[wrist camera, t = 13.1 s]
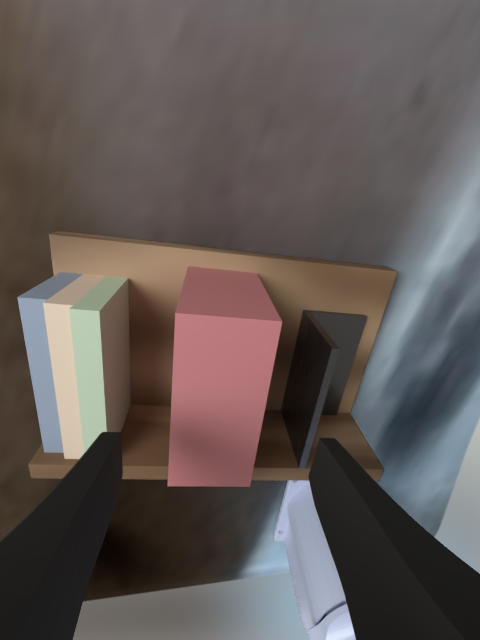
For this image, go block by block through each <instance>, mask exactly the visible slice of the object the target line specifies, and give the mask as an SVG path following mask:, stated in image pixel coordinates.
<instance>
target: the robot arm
mask: <svg viewBox="0 0 480 640" xmlns="http://www.w3.org/2000/svg"><path fill="white" fill-rule="evenodd" d="M122 476H123V465H122V440H121V432H102V433H101V434H99V436H98V437H97V438H96V440H95V441H94V442H93V443H92V445H91V446H90V447H89V448H88V449H87V451H86V452H85V453H84V454H83V456H82V457H81V458H80V459H79V460H78V461H77V463H76V464H75V465H74V466H73V467H72V468H71V470H70V471H69V472H68V473H67V474H66V475H65V476H64V477H63V478H62V480H61V481H60V482H59V483H58V484H57V485H56V486H55V487H54V488H53V489H52V491H51V492H50V493H49V494H48V495H47V496H46V497H45V498H44V499H43V500H42V501H41V502H40V503H39V504H38V505H37V506H36V507H35V508H34V509H33V510H32V511H31V512H30V513H29V514H28V515H27V516H26V517H25V518H24V519H23V520H22V521H21V522H20V523H19V524H18V525H17V526H16V527H15V528H14V529H13V530H12V531H11V532H9V533H8V534H7V535H6V536H5V537H4V538H3V539H2V540H1V541H0V640H73V636H74V632H75V628H76V624H77V621H78V617H79V613H80V610H81V606H82V602H83V599H84V596H85V593H86V590H87V586H88V583H89V580H90V578H91V575H92V572H93V569H94V566H95V563H96V560H97V558H98V555H99V552H100V549H101V546H102V543H103V540H104V538H105V535H106V532H107V529H108V526H109V523H110V520H111V517H112V515H113V512H114V509H115V505H116V501H117V497H118V493H119V489H120V485H121V481H122ZM308 478H309V481H305V480H288V482H287V486H286V489H285V493H284V497H283V501H282V504H281V508H280V512H279V516H278V520H277V523H276V527H275V531H274V535H273V536H274V540H275V541H284V543H285V548H286V553H287V558H288V562H289V567H290V572H291V576H292V582H293V586H294V591H295V596H296V601H297V605H298V610H299V614H300V617H301V620H302V622H303V624H304V626H305V628H306V630H307V632H308V635H309V639H310V640H480V574H479V573H478V572H476V571H475V570H474V569H473V568H471V567H470V566H469V565H468V564H466V563H465V562H464V561H462V560H461V559H460V558H459V557H457V556H456V555H455V554H454V553H452V552H451V551H450V550H449V549H447V548H446V547H445V546H444V545H443V544H441V543H440V542H439V541H438V540H437V539H435V538H434V537H433V536H432V535H431V534H430V533H429V532H427V531H426V530H425V529H424V528H423V527H422V526H420V525H419V524H418V523H417V522H416V521H415V520H414V519H413V518H412V517H411V516H410V515H408V514H407V513H406V512H405V511H404V510H403V509H402V508H401V507H400V506H399V505H398V504H397V503H396V502H395V501H394V500H393V499H392V498H391V497H390V496H389V495H388V494H387V493H386V492H385V491H384V490H383V489H382V488H381V487H380V486H379V485H378V484H377V483H376V482H375V481H374V480H373V479H372V478H371V477H370V475H369V474H368V473H367V472H366V471H365V470H364V469H363V468H362V467H361V466H360V465H359V464H358V462H357V461H356V460H355V459H354V458H353V457H352V456H351V455H350V454H349V453H348V452H347V450H346V449H345V448H344V447H343V446H342V445H341V444H340V443H339V442H338V441H337V440H336V439H335V438H320V439H319V442H318V445H317V449H316V452H315V456H314V459H313V462H312V466H311V469H310V472H309V476H308Z"/></svg>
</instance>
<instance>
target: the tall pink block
mask: <svg viewBox="0 0 480 640" xmlns="http://www.w3.org/2000/svg"><path fill="white" fill-rule="evenodd" d="M281 326H282V320H281V318H280V316H279V314H278V312H277V311H276V309H275V307H274V305H273V303H272V301H271V299H270V297H269V295H268V294H267V292H266V290H265V288H264V286H263V284H262V282H261V280H260V278H259V277H258V275H257V273H252V272H242V271H232V270H222V269H212V268H202V267H192V266H188V268H187V271H186V275H185V279H184V283H183V286H182V290H181V294H180V297H179V301H178V305H177V308H176V312H175V330H174V353H173V375H172V398H171V420H170V443H169V466H168V486H242V487H250V483H251V478H252V473H253V468H254V463H255V458H256V453H257V448H258V442H259V437H260V432H261V427H262V422H263V417H264V412H265V407H266V402H267V397H268V392H269V387H270V381H271V376H272V371H273V366H274V361H275V356H276V351H277V346H278V341H279V336H280V331H281Z"/></svg>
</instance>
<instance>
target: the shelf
mask: <svg viewBox="0 0 480 640" xmlns="http://www.w3.org/2000/svg"><path fill="white" fill-rule="evenodd" d="M49 239H50V247H51V256H52V264H53V272H54V276H55V275H56V274H58V273H60V272H69V273H79V274H90V275H101V276H112V277H122V278H128V289H129V338H130V387H131V406H130V408H129V411H128V414H127V417H126V419H125V422H124V425H123V428H122V431H121V440H122V465H123V476H122V479H168V466H169V443H170V420H171V398H172V375H173V353H174V330H175V312H176V308H177V305H178V301H179V297H180V294H181V290H182V286H183V283H184V279H185V275H186V271H187V268H188V266H192V267H202V268H212V269H222V270H232V271H242V272H252V273H257V275H258V277H259V278H260V280H261V282H262V284H263V286H264V288H265V290H266V292H267V294H268V295H269V297H270V299H271V301H272V303H273V305H274V307H275V309H276V311H277V312H278V314H279V316H280V318H281V320H282V326H281V331H280V336H279V341H278V346H277V351H276V356H275V361H274V366H273V371H272V376H271V381H270V387H269V392H268V397H267V402H266V407H265V412H264V417H263V422H262V427H261V432H260V437H259V442H258V448H257V453H256V458H255V463H254V468H253V473H252V478H251V480H305V481H309V478H308V476H309V472H310V469H311V466H312V462H313V459H314V456H315V452H316V449H317V445H318V442H319V439H320V438H335V439H336V440H337V441H338V442H339V443H340V444H341V445H342V446H343V447H344V448H345V449H346V450H347V452H348V453H349V454H350V455H351V456H352V457H353V458H354V459H355V460H356V461H357V462H358V464H359V465H360V466H361V467H362V468H363V469H364V470H365V471H366V472H367V473H368V474H369V475H370V477H371V478H372V479H373V480H374V481H380V479H381V476H382V474H383V472H384V468H383V466H382V465H381V463H380V462H379V460H378V458H377V457H376V455H375V453H374V452H373V450H372V449H371V447H370V445H369V444H368V442H367V440H366V439H365V437H364V435H363V434H362V432H361V431H360V429H359V427H358V426H357V424H356V422H355V421H354V419H353V417H352V416H351V414H350V411H351V409H352V406H353V403H354V400H355V397H356V394H357V391H358V388H359V385H360V382H361V379H362V376H363V373H364V370H365V367H366V364H367V361H368V358H369V355H370V352H371V349H372V346H373V343H374V340H375V337H376V334H377V331H378V328H379V325H380V322H381V319H382V316H383V313H384V310H385V307H386V305H387V302H388V299H389V296H390V293H391V290H392V287H393V284H394V281H395V278H396V275H397V271H395V270H393V269H391V268H389V267H384V266H375V265H365V264H356V263H347V262H338V261H329V260H320V259H311V258H301V257H292V256H283V255H274V254H265V253H256V252H247V251H237V250H228V249H219V248H210V247H201V246H192V245H183V244H173V243H164V242H155V241H146V240H137V239H128V238H118V237H109V236H100V235H91V234H82V233H73V232H64V231H58V232H54V233H51V234H49ZM303 310H314V311H326V312H337V313H349V314H361V315H366V316H367V320H366V323H365V326H364V330H363V333H362V336H361V339H360V342H359V345H358V349H357V352H356V355H355V358H354V361H353V364H352V368H351V371H350V374H349V377H348V380H347V383H346V387H345V390H344V393H343V396H342V399H341V402H340V406H339V409H338V412H337V415H321V416H320V420H319V423H318V426H317V430H316V433H315V437H314V440H313V444H312V447H311V451H310V454H309V457H308V461H307V464H306V468H298V464H297V461H296V458H295V455H294V452H293V448H292V445H291V442H290V439H289V436H288V432H287V429H286V426H285V423H284V420H283V417H282V413H281V407H282V402H283V398H284V393H285V389H286V384H287V380H288V375H289V371H290V366H291V362H292V357H293V353H294V348H295V344H296V339H297V335H298V330H299V326H300V321H301V317H302V312H303ZM78 460H79V459H65V458H64V453H50V452H44V448H43V443H42V444H41V446H40V448H39V449H38V451H37V452H36V454H35V455H34V457H33V458H32V460H31V461H30V463H29V464H28V465H29V470H30V475H31V478H63V477H64V476H65V475H66V474H67V473H68V472H69V471H70V470H71V468H72V467H73V466H74V465H75V464H76V463H77V461H78Z"/></svg>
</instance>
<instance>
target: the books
mask: <svg viewBox="0 0 480 640" xmlns="http://www.w3.org/2000/svg"><path fill="white" fill-rule="evenodd" d="M18 303H19V309H20V314H21V320H22V326H23V332H24V338H25V343H26V349H27V355H28V361H29V367H30V372H31V378H32V384H33V390H34V396H35V401H36V407H37V413H38V419H39V424H40V430H41V436H42V442H43V448H44V452H50V453H64V458H65V459H80V458H81V457H82V456H83V454H84V453H85V452H86V451H87V449H88V448H89V447H90V446H91V445H92V443H93V442H94V441H95V440H96V438H97V437H98V436H99V434H101V433H102V432H121V431H122V428H123V425H124V422H125V419H126V417H127V414H128V411H129V408H130V406H131V387H130V338H129V289H128V278H122V277H112V276H101V275H90V274H79V273H69V272H60V273H58V274H56V275H55V276H53V277H51V278H50V279H48V280H46V281H44V282H43V283H41V284H39V285H38V286H36V287H34V288H32V289H31V290H29V291H27V292H26V293H24V294H22V295H21V296H19V297H18Z"/></svg>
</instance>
